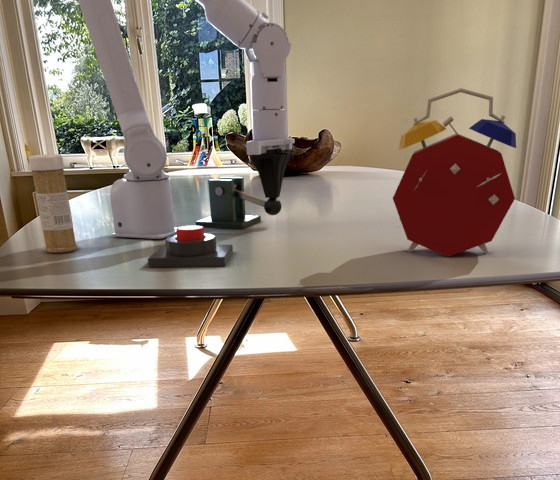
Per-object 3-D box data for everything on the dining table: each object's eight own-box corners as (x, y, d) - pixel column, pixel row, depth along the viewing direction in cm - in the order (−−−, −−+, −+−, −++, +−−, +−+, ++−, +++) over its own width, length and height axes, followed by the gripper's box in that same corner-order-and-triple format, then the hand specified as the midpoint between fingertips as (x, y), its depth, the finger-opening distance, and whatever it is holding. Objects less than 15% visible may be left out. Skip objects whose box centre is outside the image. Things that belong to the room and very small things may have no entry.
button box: (148, 267, 77) (145, 244, 76) (162, 254, 85) (160, 232, 83) (225, 266, 77) (223, 243, 75) (232, 253, 84) (231, 231, 83)
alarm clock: (503, 248, 81) (522, 86, 73) (509, 263, 74) (532, 84, 66) (393, 246, 85) (400, 91, 77) (388, 259, 77) (396, 89, 69)
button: (174, 243, 78) (173, 230, 77) (180, 238, 81) (179, 225, 81) (201, 243, 78) (200, 229, 77) (206, 238, 81) (205, 224, 80)
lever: (281, 216, 103) (286, 199, 102) (275, 219, 101) (279, 201, 100) (222, 194, 106) (225, 177, 105) (214, 196, 104) (217, 179, 102)
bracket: (261, 221, 108) (259, 176, 105) (242, 229, 101) (239, 181, 98) (216, 219, 111) (213, 176, 108) (195, 227, 104) (191, 180, 101)
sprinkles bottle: (75, 246, 92) (59, 153, 86) (79, 251, 88) (64, 154, 83) (43, 249, 90) (26, 155, 85) (47, 255, 86) (29, 156, 81)
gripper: (275, 109, 88) (278, 203, 94) (308, 108, 101) (308, 192, 106) (232, 111, 91) (237, 202, 96) (269, 110, 103) (272, 191, 108)
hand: (272, 197), depth 101 cm, fingers closed, pressing on lever
